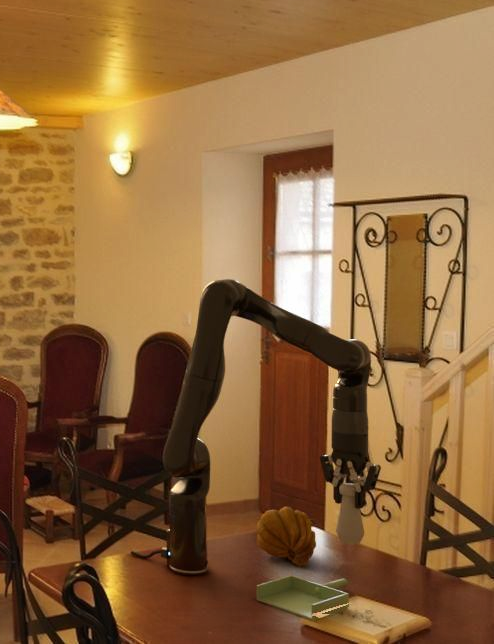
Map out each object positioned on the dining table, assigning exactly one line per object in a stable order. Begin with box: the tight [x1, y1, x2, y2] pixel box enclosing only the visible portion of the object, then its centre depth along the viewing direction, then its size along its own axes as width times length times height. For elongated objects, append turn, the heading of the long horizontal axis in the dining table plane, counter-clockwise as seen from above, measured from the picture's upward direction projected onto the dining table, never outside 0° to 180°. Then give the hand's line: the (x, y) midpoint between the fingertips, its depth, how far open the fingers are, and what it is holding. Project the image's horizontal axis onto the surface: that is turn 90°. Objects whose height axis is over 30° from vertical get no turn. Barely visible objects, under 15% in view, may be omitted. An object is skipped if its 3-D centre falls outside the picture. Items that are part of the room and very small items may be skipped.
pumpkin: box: [256, 505, 317, 568], centre depth 235 cm, size 14×16×20 cm
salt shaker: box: [335, 482, 365, 546], centre depth 200 cm, size 6×6×13 cm
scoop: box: [256, 574, 350, 622], centre depth 204 cm, size 22×15×3 cm, turn 122°
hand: (349, 505), depth 200 cm, fingers closed on salt shaker, 4 cm apart
